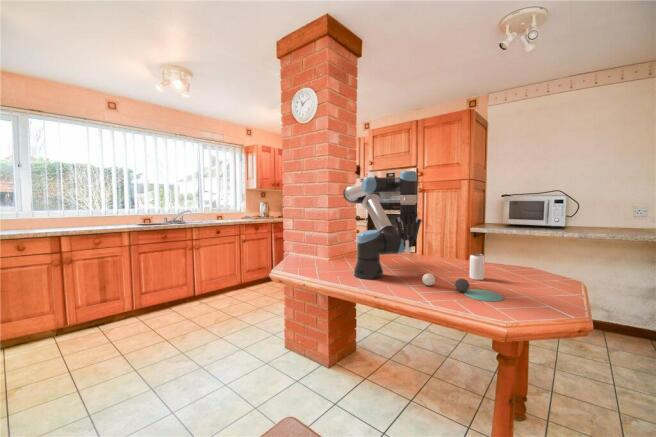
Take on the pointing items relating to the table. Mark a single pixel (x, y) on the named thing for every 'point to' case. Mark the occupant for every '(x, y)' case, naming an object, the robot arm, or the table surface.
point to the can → (477, 266)
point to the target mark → (484, 295)
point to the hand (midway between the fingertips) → (408, 253)
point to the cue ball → (428, 279)
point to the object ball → (462, 285)
